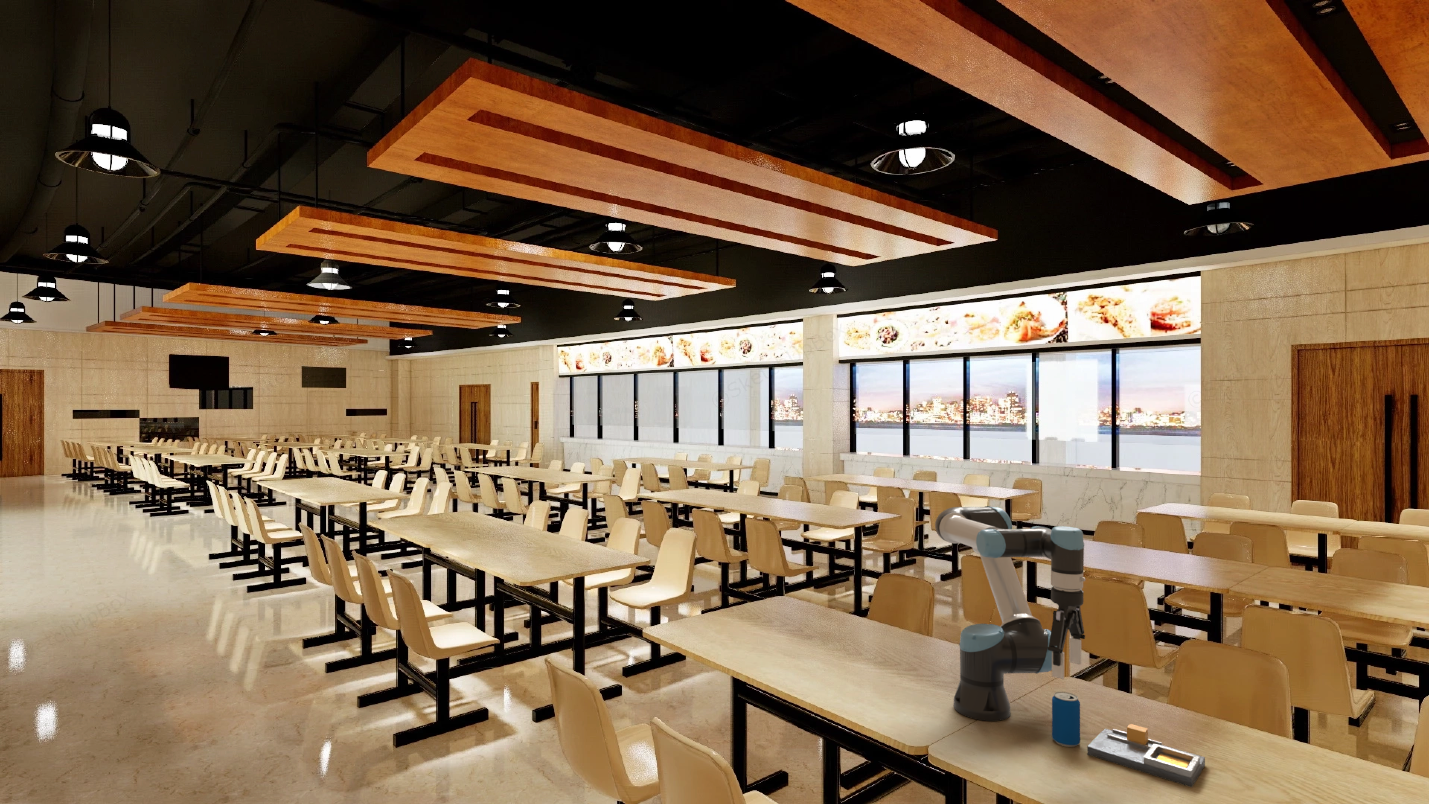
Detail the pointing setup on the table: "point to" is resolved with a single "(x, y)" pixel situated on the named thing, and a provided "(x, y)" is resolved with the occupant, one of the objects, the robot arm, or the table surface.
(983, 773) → the table surface
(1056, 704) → the beverage can
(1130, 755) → the panel
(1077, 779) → the table surface
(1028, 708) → the table surface
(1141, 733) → the block
